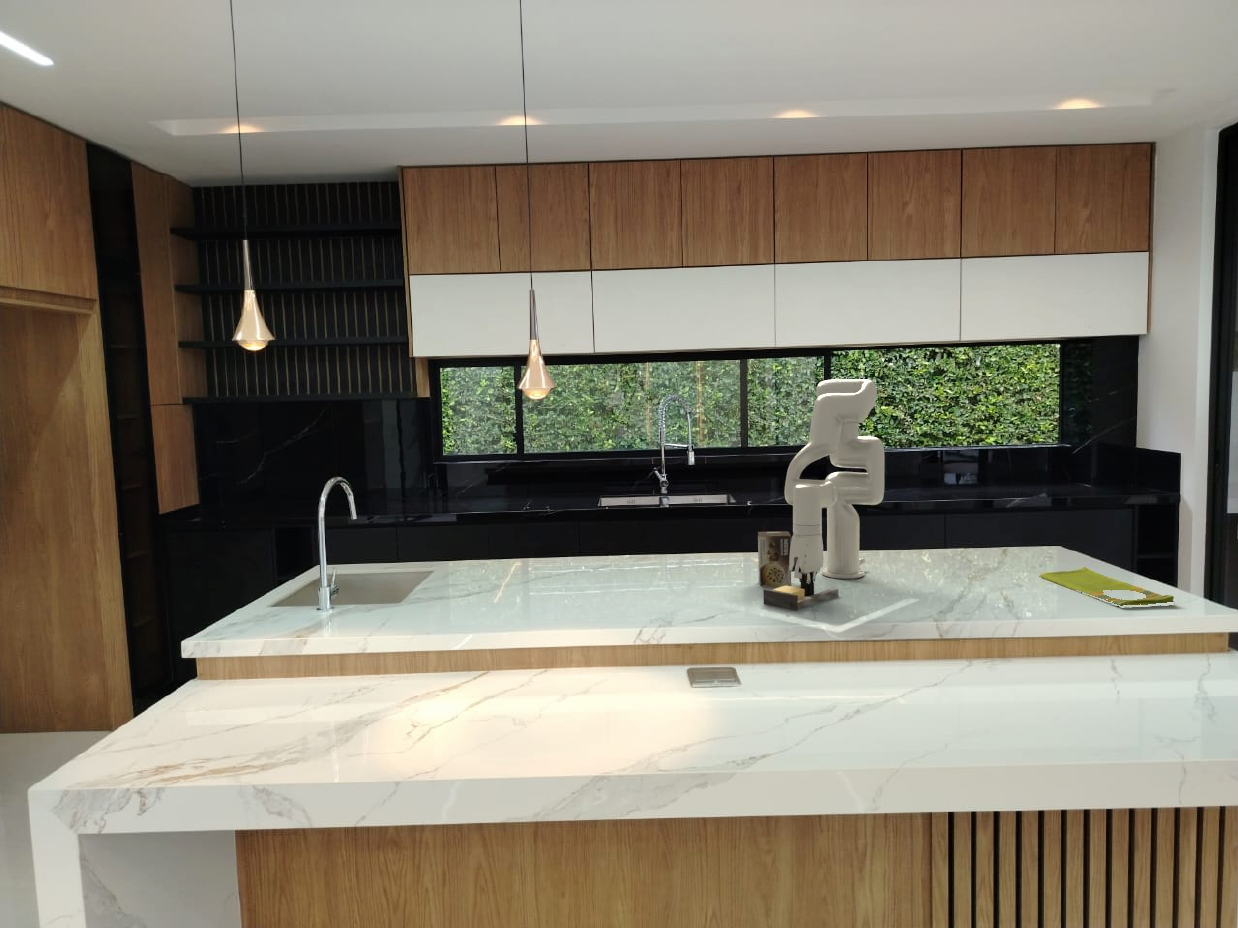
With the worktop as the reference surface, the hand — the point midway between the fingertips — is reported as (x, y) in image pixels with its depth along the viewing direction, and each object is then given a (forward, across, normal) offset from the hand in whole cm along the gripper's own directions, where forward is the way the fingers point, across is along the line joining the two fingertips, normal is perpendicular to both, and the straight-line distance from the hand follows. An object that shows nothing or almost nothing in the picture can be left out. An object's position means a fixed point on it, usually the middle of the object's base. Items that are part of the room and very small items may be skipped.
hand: (807, 596), depth 233 cm
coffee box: (+2, -7, -16) cm, 18 cm away
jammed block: (0, +9, 0) cm, 9 cm away
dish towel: (+3, -64, +53) cm, 83 cm away
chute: (+2, +3, 0) cm, 3 cm away
